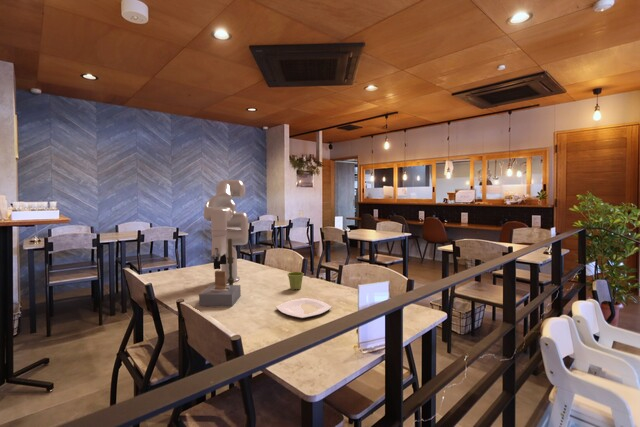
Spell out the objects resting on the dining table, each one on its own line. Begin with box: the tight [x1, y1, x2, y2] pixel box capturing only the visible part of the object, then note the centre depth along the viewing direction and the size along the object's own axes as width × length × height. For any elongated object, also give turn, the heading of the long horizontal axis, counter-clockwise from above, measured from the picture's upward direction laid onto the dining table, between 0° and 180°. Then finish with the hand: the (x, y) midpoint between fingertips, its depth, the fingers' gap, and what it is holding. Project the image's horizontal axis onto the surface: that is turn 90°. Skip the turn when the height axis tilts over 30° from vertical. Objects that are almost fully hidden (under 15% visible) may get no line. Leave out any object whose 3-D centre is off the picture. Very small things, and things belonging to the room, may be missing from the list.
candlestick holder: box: [227, 239, 235, 285], centre depth 189 cm, size 9×9×30 cm
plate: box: [275, 297, 333, 319], centre depth 159 cm, size 23×23×2 cm
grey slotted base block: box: [198, 284, 242, 308], centre depth 172 cm, size 16×16×7 cm
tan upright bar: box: [214, 270, 227, 289], centre depth 171 cm, size 2×5×14 cm, turn 89°
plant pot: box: [287, 271, 305, 290], centre depth 193 cm, size 9×9×9 cm
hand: (220, 266), depth 171 cm, fingers open, 9 cm apart
